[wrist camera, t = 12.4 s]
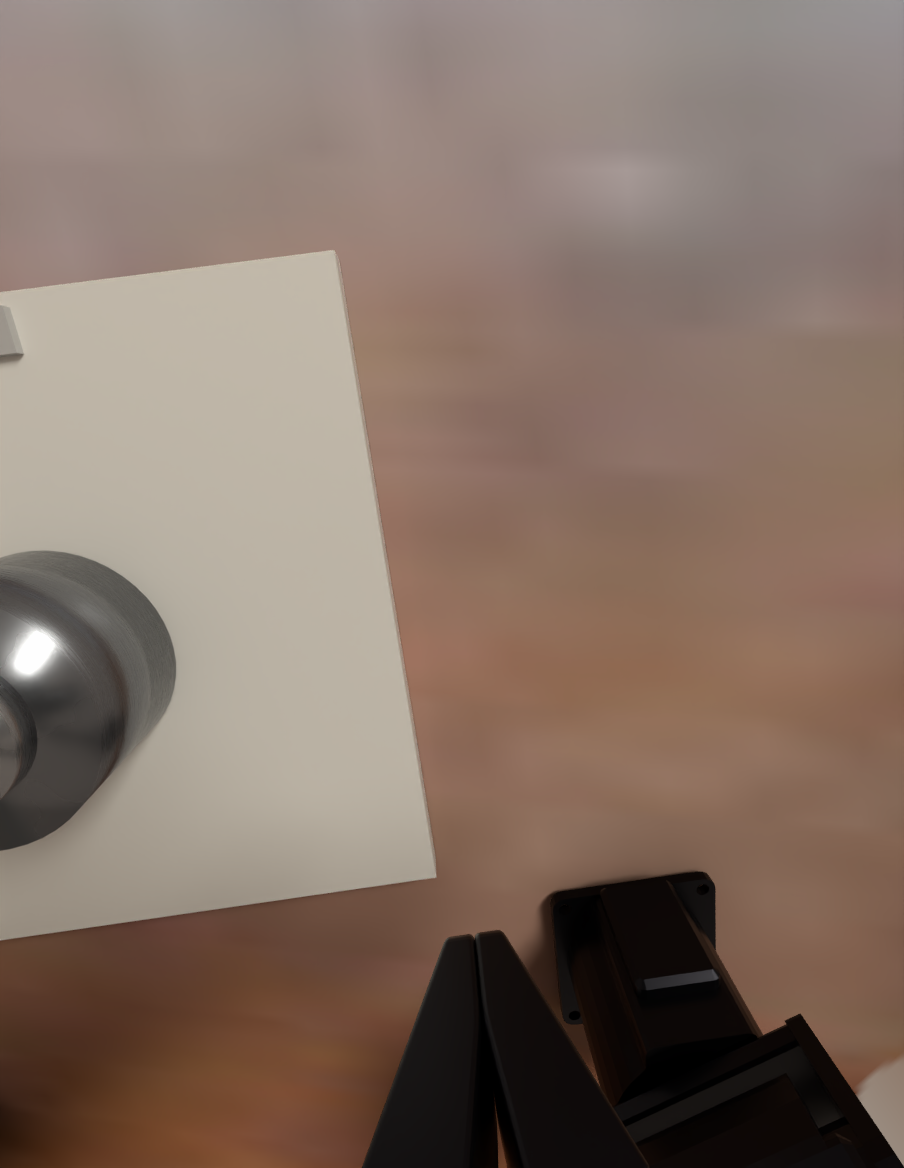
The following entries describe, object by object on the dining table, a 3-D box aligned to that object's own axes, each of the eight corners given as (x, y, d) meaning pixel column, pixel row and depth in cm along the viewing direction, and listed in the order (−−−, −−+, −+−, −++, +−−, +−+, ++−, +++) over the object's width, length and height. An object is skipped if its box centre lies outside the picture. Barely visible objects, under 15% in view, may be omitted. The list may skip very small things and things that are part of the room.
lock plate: (435, 857, 22) (436, 883, 21) (-108, 935, 22) (-141, 967, 21) (339, 260, 17) (332, 246, 15) (-392, 353, 16) (-460, 346, 15)
